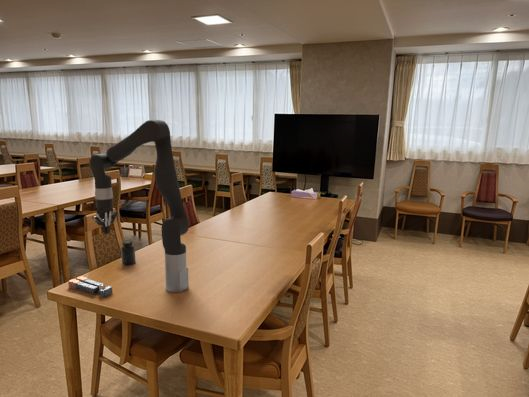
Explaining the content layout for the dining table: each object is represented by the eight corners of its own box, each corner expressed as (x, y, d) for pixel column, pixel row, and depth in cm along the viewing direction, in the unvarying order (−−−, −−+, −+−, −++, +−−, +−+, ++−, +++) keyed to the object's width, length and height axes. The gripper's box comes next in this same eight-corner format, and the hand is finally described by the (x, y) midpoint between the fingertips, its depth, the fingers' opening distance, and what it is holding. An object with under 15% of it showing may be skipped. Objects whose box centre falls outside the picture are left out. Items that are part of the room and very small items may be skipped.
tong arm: (104, 290, 164) (104, 283, 164) (99, 292, 162) (99, 285, 161) (81, 282, 172) (80, 276, 171) (76, 284, 169) (75, 277, 169)
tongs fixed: (112, 293, 161) (112, 284, 161) (102, 298, 157) (101, 289, 156) (79, 283, 171) (78, 275, 170) (68, 287, 166) (68, 279, 165)
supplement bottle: (131, 259, 202) (130, 238, 199) (138, 262, 197) (137, 241, 195) (119, 263, 196) (118, 241, 194) (126, 266, 192) (125, 244, 190)
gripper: (97, 200, 163) (100, 238, 167) (121, 195, 175) (123, 231, 178) (86, 198, 167) (88, 236, 170) (110, 194, 178) (112, 229, 182)
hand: (106, 233), depth 174 cm, fingers closed
